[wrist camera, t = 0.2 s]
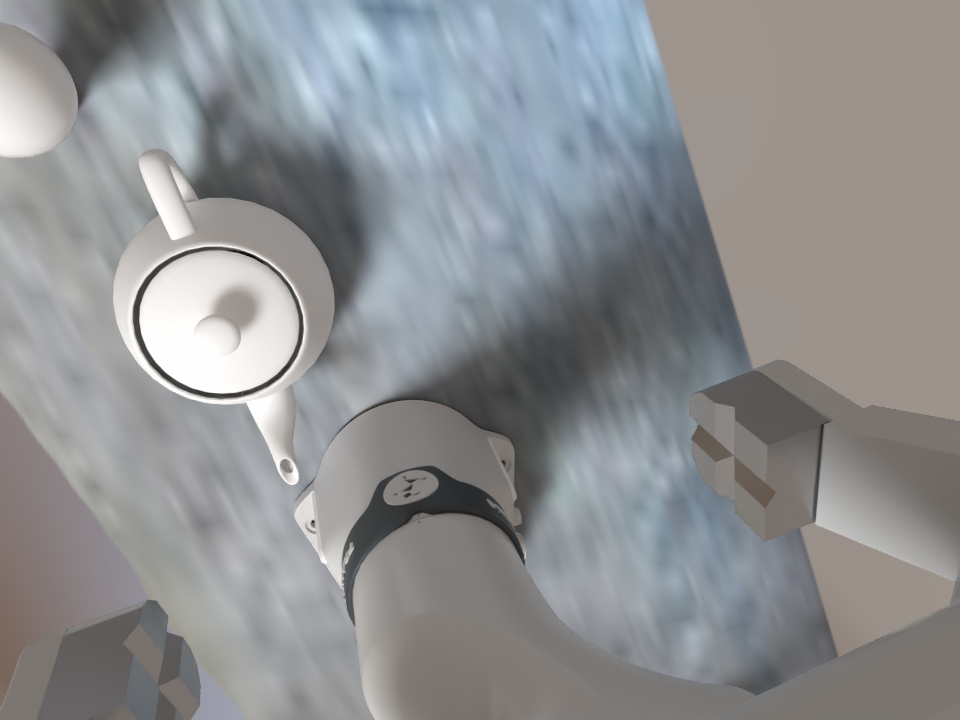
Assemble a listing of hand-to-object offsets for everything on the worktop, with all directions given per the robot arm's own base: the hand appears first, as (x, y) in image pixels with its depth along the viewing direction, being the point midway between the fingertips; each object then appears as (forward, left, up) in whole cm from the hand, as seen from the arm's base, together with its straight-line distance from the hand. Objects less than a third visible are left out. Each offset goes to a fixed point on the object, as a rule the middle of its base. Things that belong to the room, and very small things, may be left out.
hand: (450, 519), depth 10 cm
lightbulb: (+10, +14, -40) cm, 44 cm away
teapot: (-5, +8, -40) cm, 42 cm away
